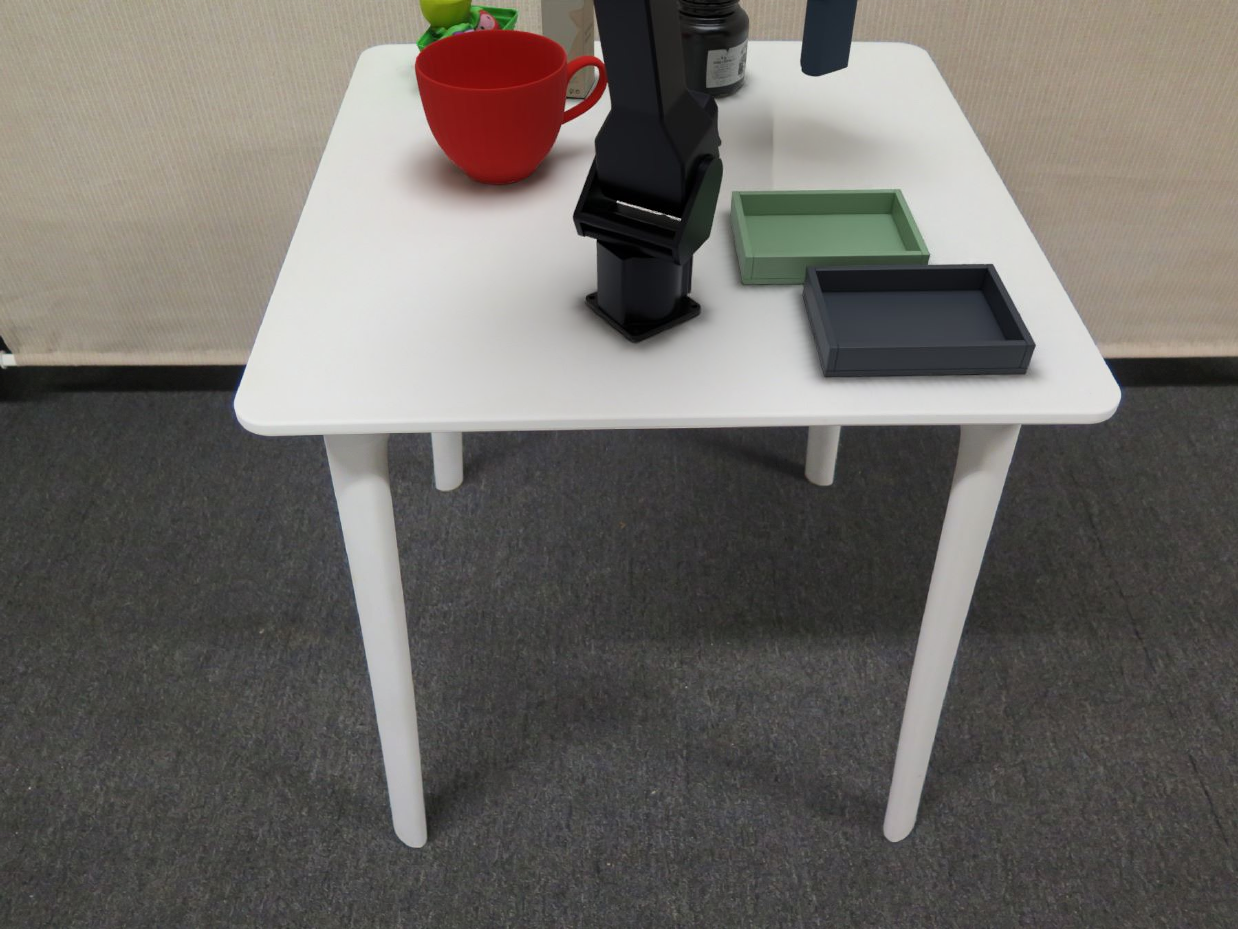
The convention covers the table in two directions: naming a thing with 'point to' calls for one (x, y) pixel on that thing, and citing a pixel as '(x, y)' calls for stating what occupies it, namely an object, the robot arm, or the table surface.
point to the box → (572, 37)
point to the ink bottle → (713, 45)
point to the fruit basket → (461, 19)
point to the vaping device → (827, 36)
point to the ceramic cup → (499, 99)
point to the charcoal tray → (915, 320)
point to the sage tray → (821, 232)
